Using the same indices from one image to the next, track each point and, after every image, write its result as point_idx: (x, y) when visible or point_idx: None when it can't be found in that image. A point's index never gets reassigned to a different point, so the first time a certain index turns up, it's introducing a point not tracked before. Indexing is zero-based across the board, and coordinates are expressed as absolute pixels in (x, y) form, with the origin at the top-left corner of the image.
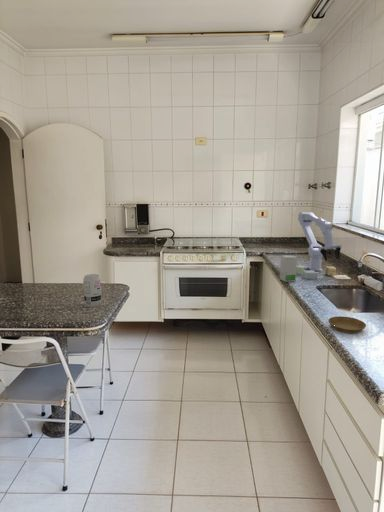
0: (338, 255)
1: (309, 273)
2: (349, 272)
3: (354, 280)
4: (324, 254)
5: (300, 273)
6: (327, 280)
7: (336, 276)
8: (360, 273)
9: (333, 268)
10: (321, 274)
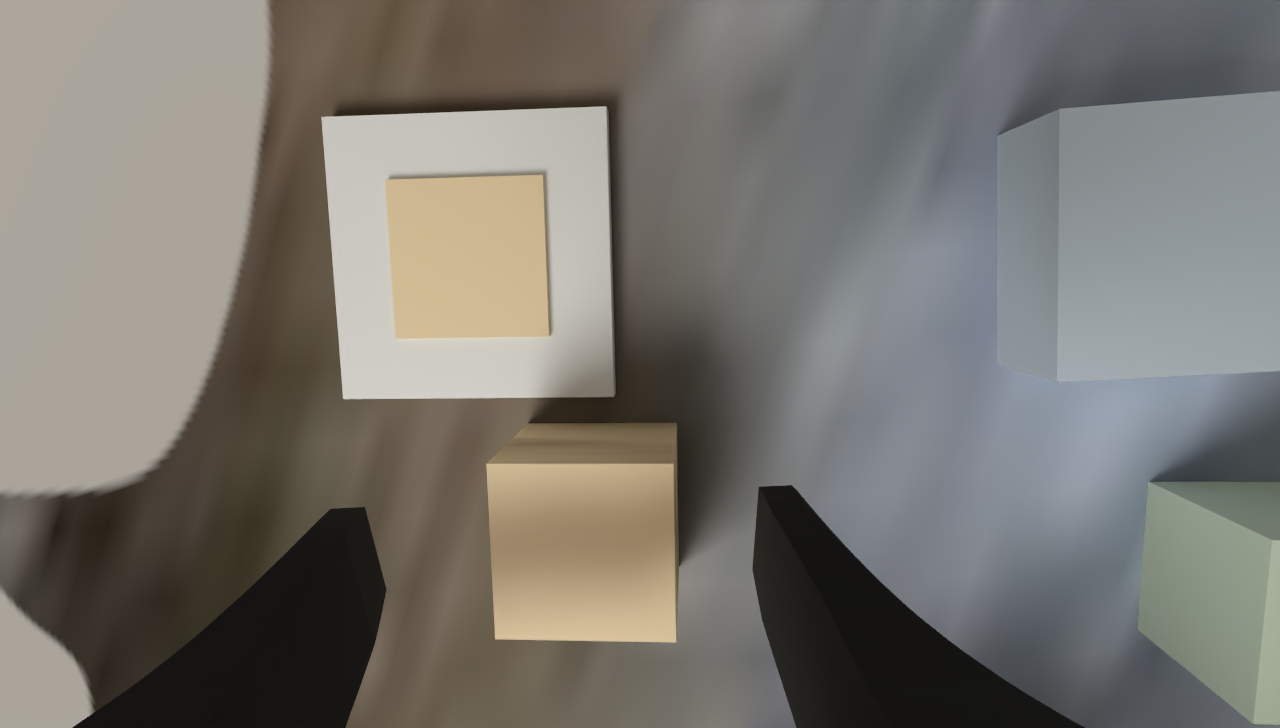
0: (276, 582)
1: (1264, 94)
2: None
3: (280, 54)
4: (925, 627)
5: (1254, 488)
6: (819, 5)
7: (554, 275)
8: (29, 600)
9: (553, 461)
10: None
